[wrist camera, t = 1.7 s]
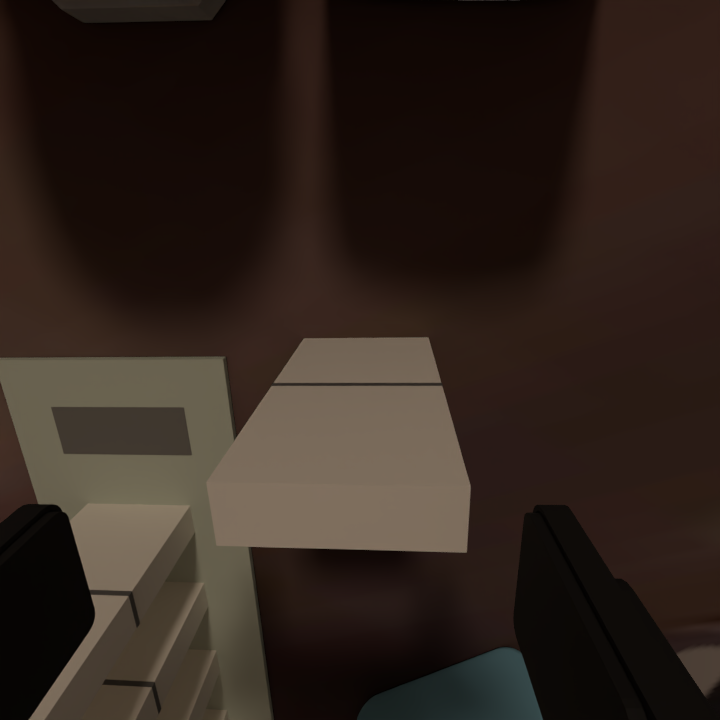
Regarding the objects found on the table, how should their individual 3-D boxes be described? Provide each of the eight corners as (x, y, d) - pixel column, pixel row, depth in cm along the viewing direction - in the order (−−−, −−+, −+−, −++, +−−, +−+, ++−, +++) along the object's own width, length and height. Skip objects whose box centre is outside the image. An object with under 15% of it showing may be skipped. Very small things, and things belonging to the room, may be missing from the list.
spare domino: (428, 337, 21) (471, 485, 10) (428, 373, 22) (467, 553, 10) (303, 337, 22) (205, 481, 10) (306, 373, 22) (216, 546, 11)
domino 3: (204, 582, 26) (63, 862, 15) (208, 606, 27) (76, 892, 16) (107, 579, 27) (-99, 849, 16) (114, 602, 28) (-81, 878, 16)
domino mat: (225, 356, 22) (222, 359, 22) (280, 771, 32) (279, 778, 32) (0, 357, 23) (-7, 360, 23) (123, 761, 33) (120, 768, 33)
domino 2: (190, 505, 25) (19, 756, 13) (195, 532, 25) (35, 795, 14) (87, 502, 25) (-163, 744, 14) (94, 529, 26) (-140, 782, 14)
